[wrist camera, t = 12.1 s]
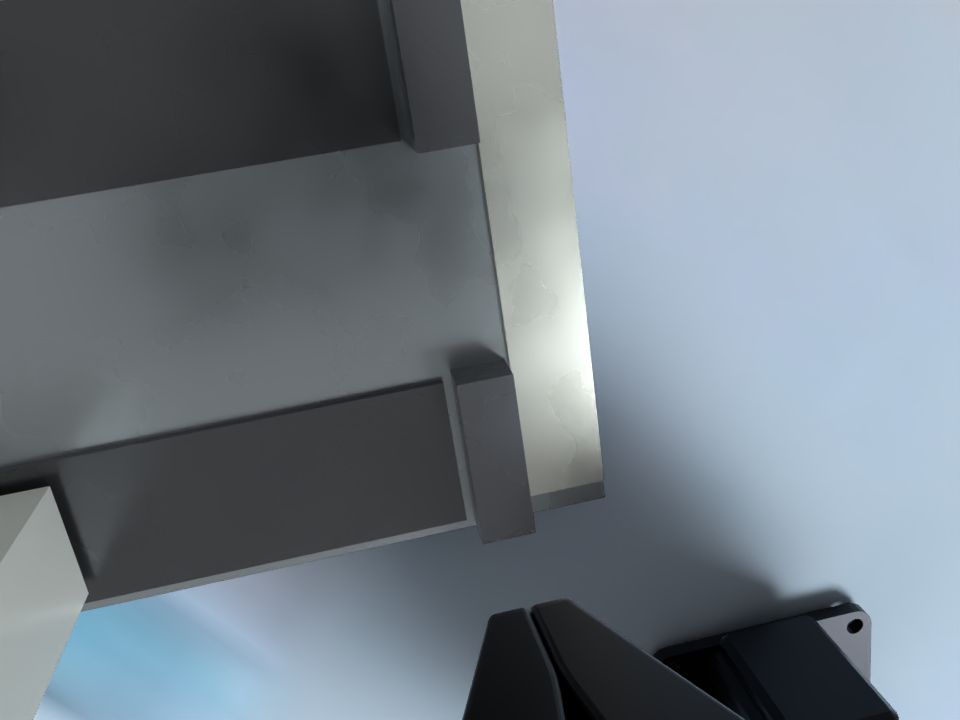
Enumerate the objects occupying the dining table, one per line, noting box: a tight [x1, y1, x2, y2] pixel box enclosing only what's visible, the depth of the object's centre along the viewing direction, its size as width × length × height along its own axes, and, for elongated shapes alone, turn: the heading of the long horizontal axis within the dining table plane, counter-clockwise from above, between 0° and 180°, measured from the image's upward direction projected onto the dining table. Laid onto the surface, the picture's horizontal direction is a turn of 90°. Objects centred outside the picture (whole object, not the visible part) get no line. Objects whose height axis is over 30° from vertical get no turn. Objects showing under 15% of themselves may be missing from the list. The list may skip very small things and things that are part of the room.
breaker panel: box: [0, 0, 605, 612], centre depth 16 cm, size 21×19×3 cm
